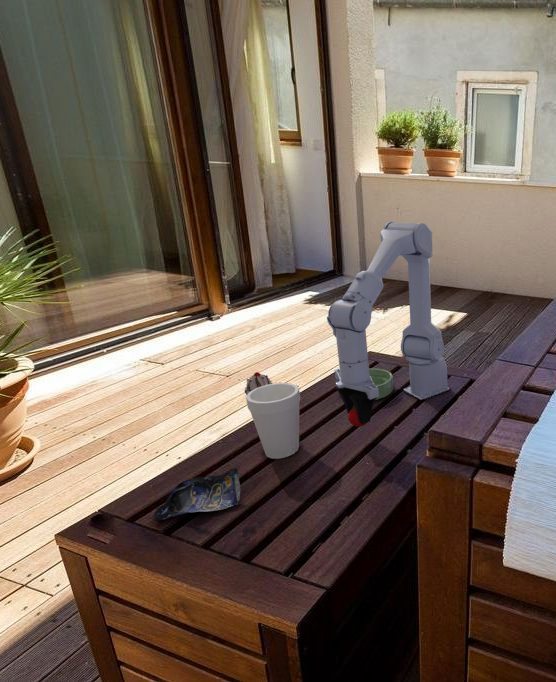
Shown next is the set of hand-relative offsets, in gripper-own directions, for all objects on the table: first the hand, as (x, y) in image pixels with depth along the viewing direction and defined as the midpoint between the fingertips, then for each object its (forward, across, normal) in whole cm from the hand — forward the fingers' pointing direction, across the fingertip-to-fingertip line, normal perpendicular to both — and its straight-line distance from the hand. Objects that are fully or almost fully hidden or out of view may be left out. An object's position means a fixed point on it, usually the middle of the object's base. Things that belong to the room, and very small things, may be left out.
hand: (359, 418), depth 100 cm
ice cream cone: (+5, -15, -14) cm, 21 cm away
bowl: (+5, -20, +13) cm, 24 cm away
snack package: (+5, +1, -31) cm, 31 cm away
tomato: (+2, 0, 0) cm, 2 cm away
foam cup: (+5, -7, -14) cm, 16 cm away
